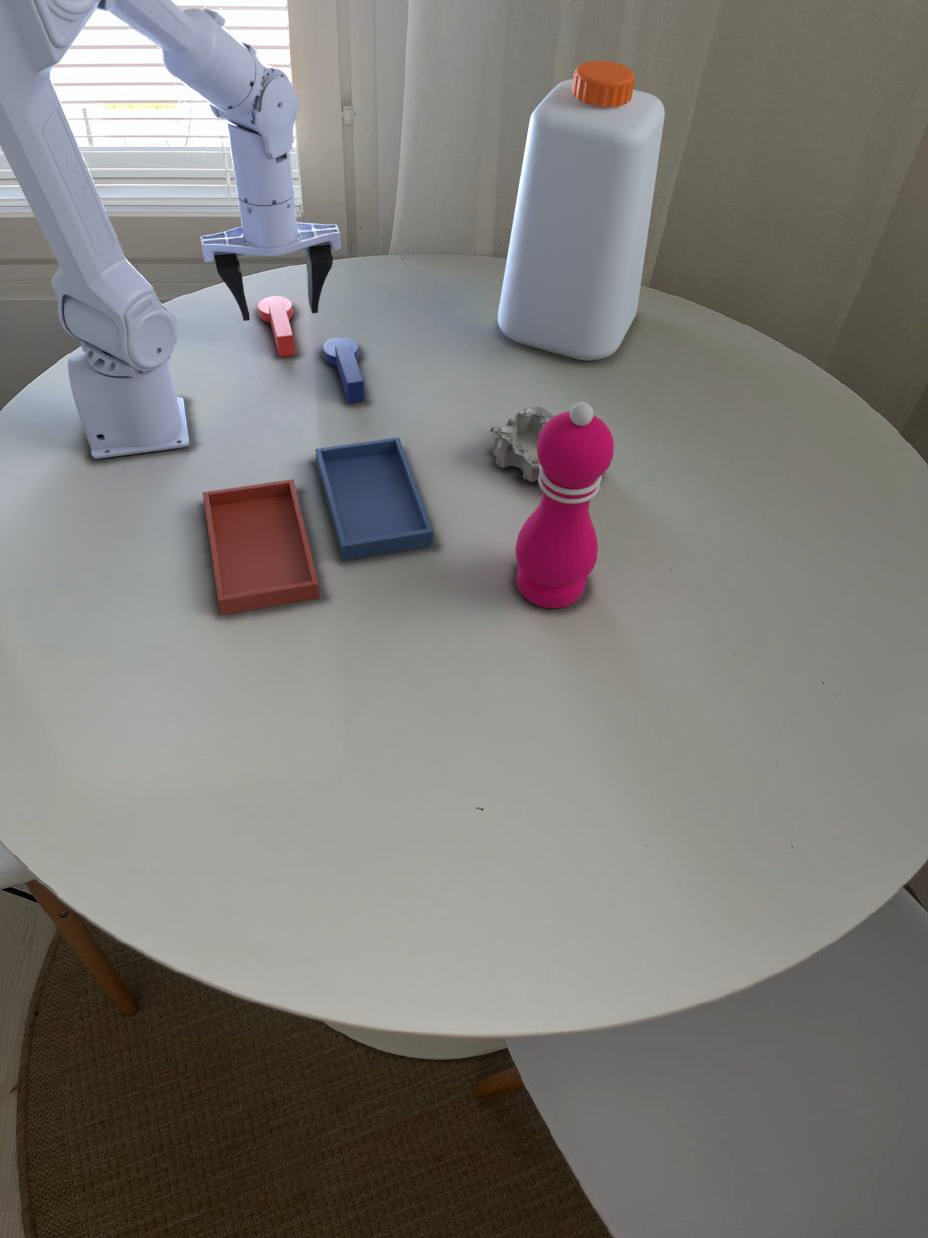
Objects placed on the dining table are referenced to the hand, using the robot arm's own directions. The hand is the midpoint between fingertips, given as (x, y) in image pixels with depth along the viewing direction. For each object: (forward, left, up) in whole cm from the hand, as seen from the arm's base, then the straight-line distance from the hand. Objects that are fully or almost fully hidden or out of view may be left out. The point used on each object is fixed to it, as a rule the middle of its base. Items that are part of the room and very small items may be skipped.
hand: (279, 312), depth 103 cm
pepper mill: (+18, -44, -4) cm, 47 cm away
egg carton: (+23, -28, -4) cm, 36 cm away
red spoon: (0, +1, -3) cm, 4 cm away
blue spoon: (+6, -9, -3) cm, 11 cm away
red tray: (-7, -34, -3) cm, 35 cm away
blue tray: (+4, -30, -3) cm, 30 cm away
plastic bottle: (+34, -4, -4) cm, 34 cm away
